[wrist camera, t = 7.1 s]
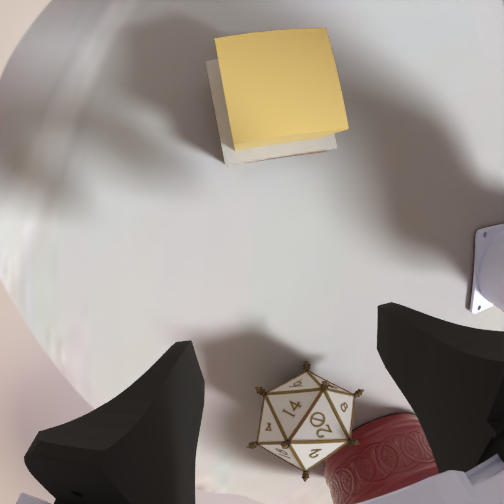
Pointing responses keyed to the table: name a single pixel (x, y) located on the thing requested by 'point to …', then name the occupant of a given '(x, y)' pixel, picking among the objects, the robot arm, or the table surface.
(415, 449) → the canister
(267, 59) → the mustard cube
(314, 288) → the table surface
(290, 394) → the game die
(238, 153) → the tower top slab
